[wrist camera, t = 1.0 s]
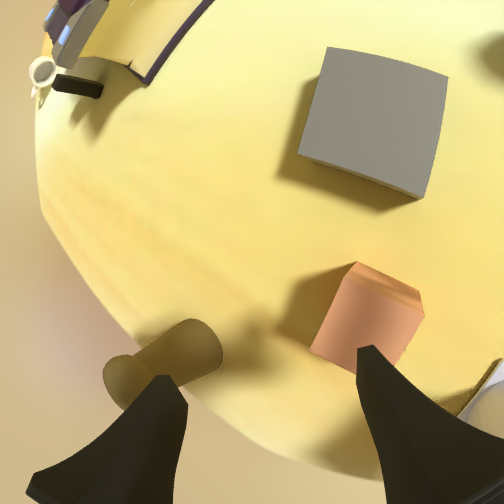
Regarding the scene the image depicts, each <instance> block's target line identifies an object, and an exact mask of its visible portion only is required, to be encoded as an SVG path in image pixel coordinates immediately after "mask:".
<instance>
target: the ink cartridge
mask: <svg viewBox="0 0 504 504" xmlns="http://www.w3.org/2000/svg"><path fill="white" fill-rule="evenodd" d="M51 87H52V88H53V89H54V90H56V91H59V92H65V93H71V94H77V95H82V96H88V97H93V98H94V99H96V98H99V95H100V93H101V91H102V88H103V85H101V84H99V83H98V82H96V81H92V80H87V79H83V78H78V77H73V76H68V75H62V74H56V76H55V79H54V81H53V84H52V86H51Z"/></svg>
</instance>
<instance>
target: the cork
mask: <svg viewBox="0 0 504 504" xmlns="http://www.w3.org/2000/svg"><path fill="white" fill-rule="evenodd" d="M222 355H223V353H222V348H221V344H220V342H219V340H218V338H217V336H216V335H215V333H214V332H213V331H212V329H211V328H210V327H208V326H207V325H206V324H205V323H203V322H201V321H199V320H197V319H187V320H184V321H183V322H181V323H180V324H178V325H177V326H176V327H174V328H173V329H171V330H170V331H168V332H167V333H166V334H164V335H163V336H161V337H160V338H158V339H157V340H155V341H154V342H152V343H151V344H150V345H148V346H147V347H145V348H144V349H142V350H141V351H139V352H138V353H136V354H135V355H133V356H131V355H121V356H116V357H114V358H112V359H110V360H109V361H108V362H107V363H106V365H105V367H104V369H103V380H104V384H105V386H106V389H107V391H108V393H109V394H110V396H111V397H112V399H113V400H114V402H115V403H116V404H117V405H118V406H119V407H120V408H121V409H123V410H124V411H125V410H126V409H127V408H128V407H129V406H130V405H131V403H132V402H133V401H134V400H135V399H136V398H137V397H138V395H139V394H140V393H141V392H142V391H143V390H144V388H145V387H146V386H147V385H148V384H149V383H150V382H151V380H152V379H153V378H154V377H155V376H156V375H169V374H170V376H171V378H172V379H173V381H174V383H175V384H176V386H177V388H178V387H180V386H182V385H184V384H186V383H188V382H190V381H193V380H195V379H197V378H199V377H201V376H203V375H205V374H207V373H209V372H211V371H213V370H215V369H216V368H218V367H219V366H220V364H221V362H222Z"/></svg>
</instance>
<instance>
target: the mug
mask: <svg viewBox="0 0 504 504" xmlns="http://www.w3.org/2000/svg"><path fill="white" fill-rule="evenodd" d="M58 72H59V66H57V65H56V64H55V62H54V59H51V58H49V57H47V56H42V57H39V58H37V59H36V60H35V61H34V62H33V63H32V64H31V66H30V68H29V71H28V75H29V78H30V80H31V81H32V83H33V84H34V86H33V89H32V93H31V98H33V99H35V98H36V97H37V95H38V94H39V91H40V89H41V88H43V87H46V86H48V85H50V84H51V83H53V81H54V79H55V76H56V74H58Z"/></svg>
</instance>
